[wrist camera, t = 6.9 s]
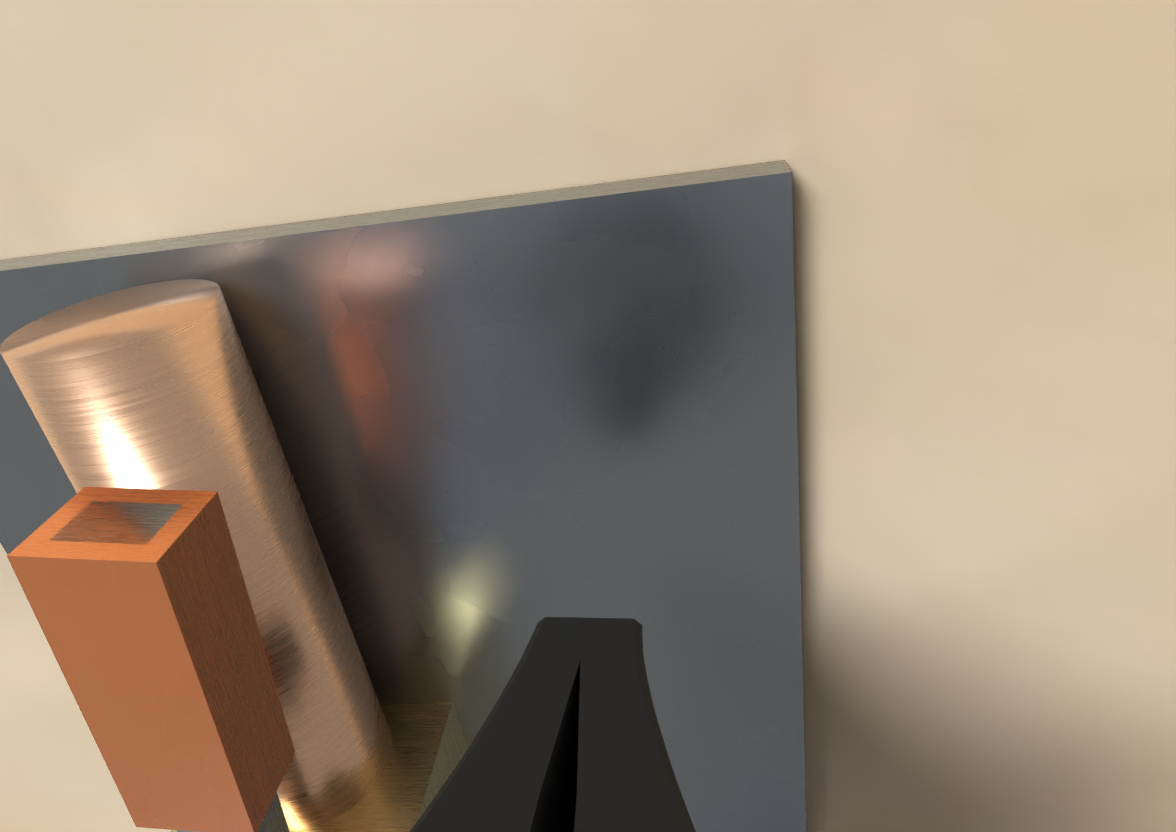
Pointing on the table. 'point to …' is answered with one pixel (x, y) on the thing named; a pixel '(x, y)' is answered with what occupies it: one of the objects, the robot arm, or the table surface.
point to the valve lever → (162, 655)
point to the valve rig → (458, 461)
